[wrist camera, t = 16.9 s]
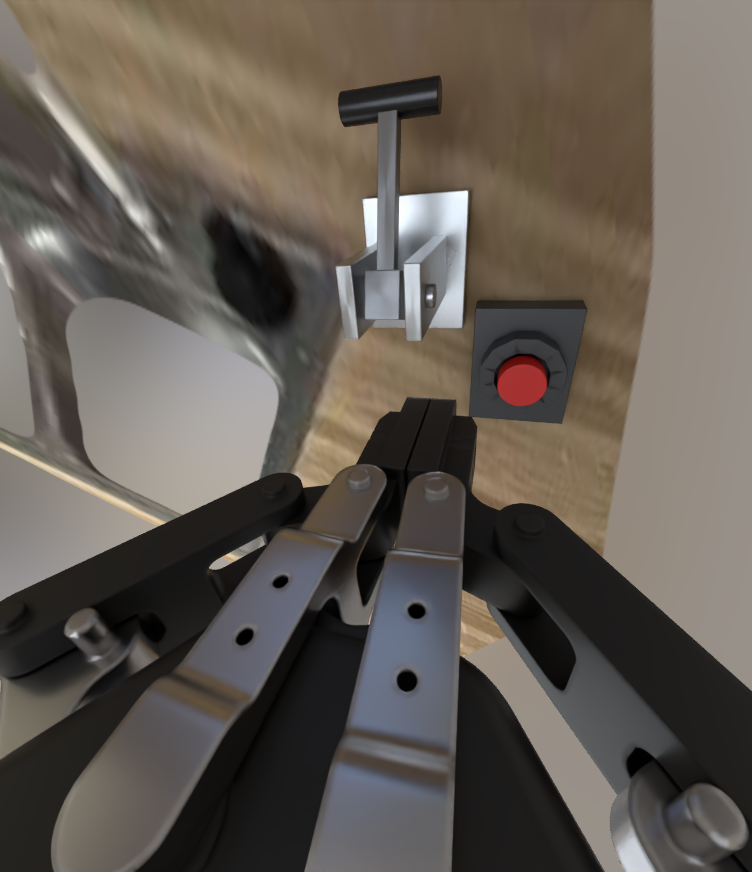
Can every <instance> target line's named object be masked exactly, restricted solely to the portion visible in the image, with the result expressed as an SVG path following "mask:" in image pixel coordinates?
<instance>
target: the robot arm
mask: <svg viewBox="0 0 752 872" xmlns="http://www.w3.org/2000/svg"><path fill="white" fill-rule="evenodd" d="M476 439H477V425H476V424H475V422H474V420H473V419H472V417H468V416H456V400H451V399H433V398H432V400H431V399H430V398H413V397H407V399H406V401H405V403H404V405H403V408H402V410H401V412H391V411H390V412H389V413H388V414H386V415H385V416H384V417H382V418H381V419H380V420H379V422H378V423H377V425H376V427H375V429H374V431H373V433H372V435H371V437H370V439H369V441H368V442H367V444H366V446H365V448H364V450H363V452H362V454H361V456H360V458H359V460H358V462H357V463H356V465H353V466H349V467H347V468H345V469H343V470H342V471H340V472H339V473H338V474H337V475H336V476H335V478H334V479H333V480H332V482H331V483H330V484H329V485H324V486H315V487H307V488H303V486H302V482H301V480H300V478H299V477H297V476H296V475H294V474H291V473H276V474H271V475H268V476H266V477H264V478H261V479H259V480H257V481H255V482H253V483H251V484H249V485H247V486H245V487H242V488H240V489H238V490H236V491H234V492H231V493H229V494H227V495H225V496H223V497H221V498H219V499H217V500H214V501H212V502H210V503H208V504H206V505H204V506H201V507H199V508H197V509H195V510H193V511H191V512H189V513H186V514H184V515H182V516H180V517H178V518H176V519H174V520H171V521H169V522H167V523H165V524H163V525H161V526H158V527H156V528H154V529H152V530H150V531H148V532H146V533H143V534H141V535H139V536H137V537H135V538H133V539H131V540H129V541H126V542H124V543H122V544H120V545H118V546H116V547H113V548H111V549H109V550H107V551H105V552H103V553H101V554H98V555H96V556H94V557H92V558H90V559H88V560H86V561H83V562H81V563H79V564H77V565H75V566H73V567H71V568H68V569H66V570H64V571H62V572H60V573H58V574H55V575H53V576H51V577H49V578H47V579H45V580H43V581H41V582H38V583H36V584H34V585H32V586H30V587H28V588H25V589H24V590H21V591H19V592H17V593H15V594H13V595H11V596H9V597H7V598H5V599H4V600H2V601H0V680H1V692H0V872H605V871H604V870H603V868H602V866H601V865H600V863H599V861H598V859H597V857H596V856H595V854H594V852H593V850H592V849H591V847H590V845H589V843H588V842H587V840H586V838H585V836H584V835H583V833H582V831H581V829H580V828H579V826H578V824H577V822H576V821H575V819H574V817H573V815H572V814H571V812H570V810H569V808H568V807H567V805H566V803H565V802H564V800H563V798H562V796H561V794H560V793H559V791H558V789H557V787H556V786H555V784H554V782H553V780H552V779H551V777H550V775H549V773H548V772H547V770H546V769H545V766H544V765H543V763H542V761H541V760H540V758H539V756H538V754H537V752H536V751H535V749H534V747H533V745H532V744H531V742H530V740H529V738H528V737H527V735H526V733H525V731H524V730H523V728H522V726H521V724H520V723H519V721H518V719H517V717H516V716H515V714H514V712H513V711H512V709H511V707H510V706H509V704H508V702H507V701H506V700H505V698H504V697H503V695H502V694H501V693H500V691H499V690H498V689H497V687H496V686H495V685H494V684H493V683H492V682H491V681H490V680H489V679H488V677H486V675H485V674H484V673H482V672H481V671H480V670H479V669H478V668H477V667H476V666H475V665H473V664H472V663H470V662H469V661H467V660H466V659H465V658H463V657H462V656H460V629H461V603H462V590H464V591H466V592H468V593H470V594H472V595H474V596H476V597H478V598H480V599H482V600H483V601H485V602H486V603H487V607H488V610H489V612H490V613H491V615H492V617H493V618H494V619H495V621H496V622H497V624H498V625H499V627H500V628H501V629H502V631H503V632H504V634H505V635H506V637H507V638H508V639H509V641H510V642H511V644H512V645H513V647H514V648H515V649H516V651H517V652H518V653H519V655H520V657H521V658H522V659H523V661H524V662H525V664H526V665H527V667H528V668H529V669H530V671H531V672H532V674H533V675H534V676H535V678H536V679H537V681H538V682H539V684H540V685H541V687H542V688H543V689H544V691H545V692H546V694H547V695H548V697H549V698H550V699H551V701H552V702H553V704H554V705H555V707H556V708H557V709H558V711H559V712H560V714H561V715H562V717H563V718H564V719H565V721H566V722H567V724H568V725H569V726H570V728H571V729H572V731H573V732H574V734H575V735H576V737H577V738H578V739H579V741H580V742H581V744H582V745H583V747H584V748H585V749H586V751H587V752H588V754H589V755H590V757H591V758H592V759H593V761H594V762H595V764H596V765H597V767H598V768H599V769H600V771H601V772H602V774H603V775H604V777H605V778H606V779H607V781H608V782H609V784H610V785H611V787H612V788H613V789H614V791H615V792H616V794H617V797H616V798H615V800H614V802H613V804H612V807H611V813H610V831H611V837H612V841H613V844H614V848H615V851H616V854H617V856H618V859H619V861H620V863H621V865H622V867H623V869H624V871H625V872H752V691H751V690H750V689H749V688H748V687H746V686H745V685H744V684H743V683H742V682H741V681H740V680H739V679H737V678H736V677H735V676H734V675H733V674H732V673H731V672H730V671H729V670H727V669H726V668H725V667H724V666H723V665H722V664H720V663H719V662H718V661H717V660H716V659H715V658H714V657H713V656H712V655H711V654H710V653H708V652H707V651H706V650H705V649H704V648H703V647H702V646H701V645H699V644H698V643H697V642H696V641H695V640H694V639H693V638H692V637H691V636H689V635H688V634H687V633H686V632H685V631H684V630H683V629H681V628H680V627H679V626H678V625H677V624H676V623H675V622H674V621H673V620H672V619H670V618H669V617H668V616H667V615H666V614H665V613H664V612H663V611H661V610H660V609H659V608H658V607H657V606H656V605H655V604H654V603H653V602H651V601H650V600H649V599H648V598H647V597H646V596H645V595H644V594H642V593H641V592H640V591H639V590H638V589H637V588H636V587H635V586H634V585H632V584H631V583H630V582H629V581H628V580H627V579H626V578H625V577H623V576H622V575H621V574H620V573H619V572H618V571H617V570H615V569H614V568H613V567H612V566H611V565H610V564H609V563H608V562H607V561H606V560H605V559H603V558H602V557H601V556H600V555H599V554H598V553H597V552H596V551H594V550H593V549H592V548H591V547H590V546H589V545H588V544H587V543H586V542H584V541H583V540H582V539H581V538H580V537H579V536H578V535H577V534H575V533H574V532H573V531H572V530H571V529H570V528H569V527H568V526H567V525H565V524H564V523H563V522H562V521H561V520H560V519H559V518H558V517H556V516H555V515H554V514H553V513H551V512H550V511H548V510H547V509H544V508H542V507H540V506H536V505H532V504H525V503H518V504H512V505H509V506H506V507H504V508H503V509H501V510H500V511H499V510H497V509H494V508H491V507H489V506H487V505H485V504H483V503H482V502H480V501H479V500H478V499H477V498H476V497H475V496H474V495H473V494H472V492H471V491H472V484H473V476H474V469H475V456H476ZM260 536H262V537H263V540H264V543H265V545H264V546H262V547H260V548H258V549H257V550H255V551H253V552H251V553H249V554H247V555H246V556H244V557H242V558H240V559H238V560H237V561H235V562H233V563H231V564H229V565H228V566H226V567H224V568H221V569H218V570H212V569H209V566H210V565H211V564H212V563H213V562H214V561H215V560H217V559H219V558H220V557H222V556H224V555H226V554H228V553H230V552H232V551H234V550H235V549H237V548H239V547H241V546H243V545H245V544H247V543H249V542H250V541H252V540H254V539H256V538H258V537H260ZM395 541H396V542H395ZM394 544H395V546H394ZM373 607H374V608H373ZM372 609H373V612H372ZM371 612H372V617H371V621H370V625H368V622H369V618H370V614H371Z"/></svg>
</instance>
